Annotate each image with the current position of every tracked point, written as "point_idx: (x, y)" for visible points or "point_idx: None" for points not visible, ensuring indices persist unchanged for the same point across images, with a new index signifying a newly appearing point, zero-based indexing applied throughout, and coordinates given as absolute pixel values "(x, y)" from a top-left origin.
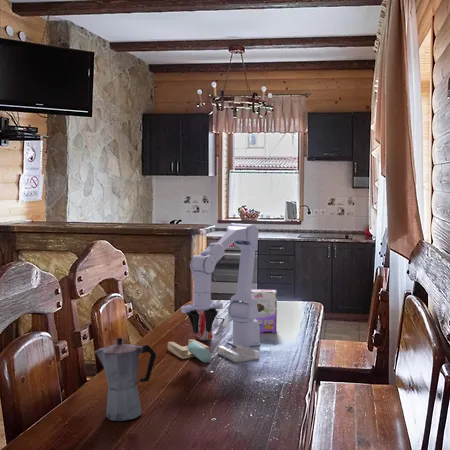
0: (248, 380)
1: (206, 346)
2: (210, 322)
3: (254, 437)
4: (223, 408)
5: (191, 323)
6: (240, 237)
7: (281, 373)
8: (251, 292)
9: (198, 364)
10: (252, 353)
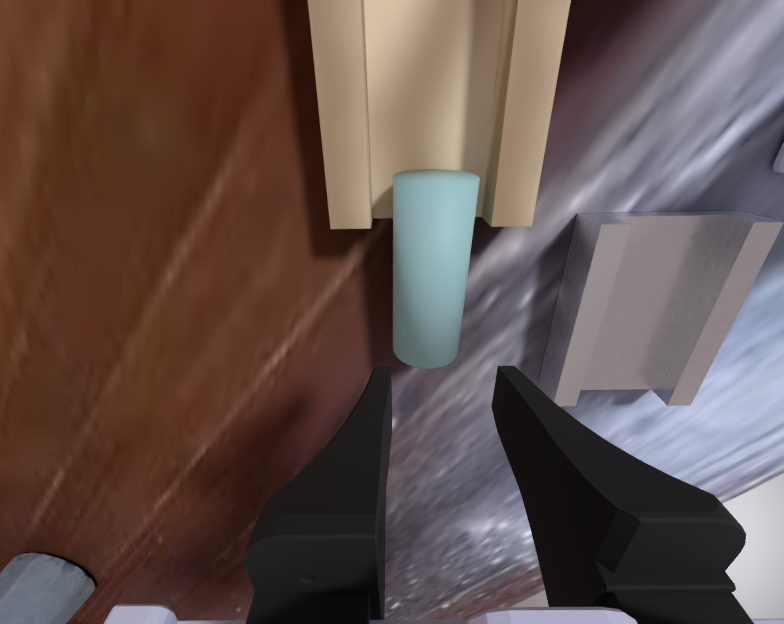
0: (447, 523)
1: (526, 205)
2: (523, 495)
3: None
4: None
5: (349, 418)
6: None
7: None
8: None
9: (377, 337)
10: (665, 377)
